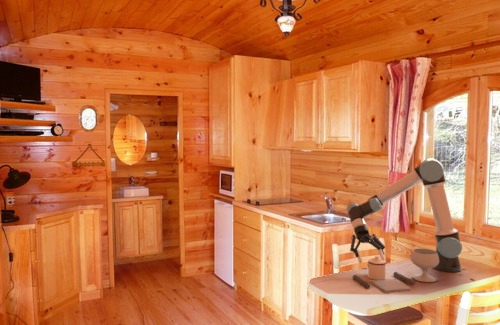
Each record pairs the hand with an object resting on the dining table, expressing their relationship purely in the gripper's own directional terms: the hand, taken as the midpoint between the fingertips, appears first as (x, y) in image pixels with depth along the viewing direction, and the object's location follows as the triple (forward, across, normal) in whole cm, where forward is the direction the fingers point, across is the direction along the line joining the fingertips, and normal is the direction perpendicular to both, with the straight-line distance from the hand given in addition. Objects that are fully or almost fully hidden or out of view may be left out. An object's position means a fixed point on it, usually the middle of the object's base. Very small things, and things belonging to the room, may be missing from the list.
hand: (372, 261), depth 225 cm
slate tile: (+17, -1, +6) cm, 18 cm away
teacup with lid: (+7, -1, -5) cm, 8 cm away
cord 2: (+12, -13, +1) cm, 18 cm away
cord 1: (+12, +11, +1) cm, 17 cm away
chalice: (+13, -25, +1) cm, 28 cm away
